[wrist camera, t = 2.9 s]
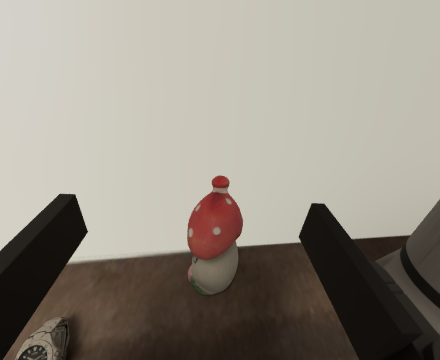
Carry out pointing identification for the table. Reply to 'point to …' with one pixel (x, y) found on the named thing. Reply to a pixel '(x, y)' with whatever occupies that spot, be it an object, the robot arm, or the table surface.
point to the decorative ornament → (214, 240)
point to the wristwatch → (47, 342)
